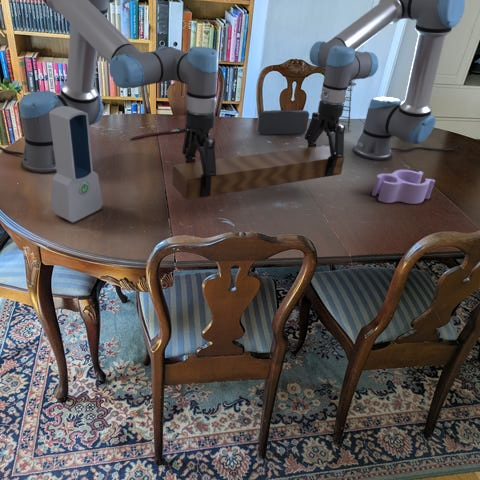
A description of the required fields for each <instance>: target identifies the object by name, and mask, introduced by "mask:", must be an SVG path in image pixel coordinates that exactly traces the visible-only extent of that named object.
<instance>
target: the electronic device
mask: <svg viewBox="0 0 480 480" xmlns="http://www.w3.org/2000/svg"><path fill="white" fill-rule="evenodd" d="M49 117H50V124H51V132H52V140H53V147H54V155H55V162H56V170H57V171H56V172H55V174H54V175H53V177H52V180H51V209H52V212H53V214H55V215H57V216H58V217H60V218H62V219H64V220H66V221H68V222H69V223H72V224H73V223H75V222H77V221H79V220H81V219H84V218H85V217H88V216H89V215H92V214H93V213H96V212H98V211H100V210H101V209H102V207H103V204H104V202H103V196H102V191H101V186H100V181H99V180H100V178H99V174H98V172H96V171H94V169H93V168H94V166H93V157H92V145H91V132H90V126H89V120H88V113H86V112H83V111H80V110H77V109H74V108H71V107H67V106H60V107H57V108H55V109H53V110H52V111H50V112H49Z"/></svg>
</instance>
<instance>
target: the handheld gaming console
mask: <svg viewBox="0 0 480 480" xmlns="http://www.w3.org/2000/svg"><path fill="white" fill-rule="evenodd" d="M258 114H259V115H258V123H257V132H258V133H259V135H265V136H266V135H293V134H294V135H297V134H298V135H300V134H306V132H307V130H308V123H309V118H310V113H309V111H308V110H303V109H301V110H299V109H284V110H283V109H281V110H273V109H272V110H271V109H270V110H262V111H260V112H259V113H258Z"/></svg>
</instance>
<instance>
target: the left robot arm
mask: <svg viewBox="0 0 480 480" xmlns="http://www.w3.org/2000/svg"><path fill="white" fill-rule="evenodd" d="M42 1H43V2H44V4H45V5H46V6H47V7H48V8H49V9H50V10H51V11H52V12H54V13H55V14H60V15H61V16H62V17H63V18H64V19H65V20H66V21H67V22H68V23H69V24H70V26H69V39H68V40H69V41H68V54H67V55H68V57H67V69H66V70H67V71H66V81H64V82H62V84H61V87H60V94H56V92H54V91H51V90H42V91H41V90H37V91H32V92H30V93H26V94H24V96H22V97H21V98H20V100H19V103H18V104H19V116H20V120H21V126H22V132H23V137H24V148H23V152H21V151H13V150H8V149H6V148H3V147H2V146H0V150H1V151H2V152H4V153H6V154H11V155H17V156H22V158H21V159H22V160H21V161H22V166H23V168H24V169H25V170H27V171H29V172H33V173H39V174H46V173H57V170H56V162H55V155H54V147H53V140H52V132H51V124H50V117H49V112H50V111H52V110H53V109H55V108H57V107H60V106H67V107H71V108H74V109H77V110H80V111H83V112H86V113H88V120H89V127H91V126H92V125H95V124H98V123H99V122H100V121H101V119H102V117H103V114H104V103H103V99H102V96H101V95H100V93H99V91H98V89H97V88H96V87H95V80H96V72H97V64H98V63H97V62H98V55H100V56H101V57H102V58H103V59H104V60H105V61H106V62H107V63H108V64H109V65H108V66H109V67H108V70H109V76H110V77H111V78H112V82H113V83H114V84H115V86H117V87H118V88H121V89H135V88H139V87H145V86H148V85H149V86H150V85H154V84H161V83H165V82H166V83H167V82H172V81H174V82H179V83H182V84H185V85H186V102H185V103H186V104H185V105H186V106H185V109H186V110H187V111H186V114H185V115H186V116H185V118H186V119H185V128H186V130H185V133H184V137H183V138H184V139H183V145H182V149H181V150H182V151H181V152H182V154H183V155H184V158H185V163H191V162H197V161H196V160H197V159H196V157H197V154H196V153H197V152H198V153H199V158H200V161H201V164H202V170H203V174H202V175H201V194H200V196H201V197H202V198H207V197H206V196H208V197H211V196H210V192H211V177H212V176H216V162H215V159H216V149H215V147H216V139H215V138H211V136H210V130H212V129H213V128H214V127H215V124H216V123H215V121H216V113H215V111H216V105H217V104H216V103H217V100H218V99H217V85H218V76H219V53H218V51H217V50H216V49H215V48H212V47H207V46H191V47H190V48H188V51H184V50H181V49H178V48H176V47H173V46H166V45H161V46H158V47H156V49H154V51H153V50H152V51H144V52H142V51H140V50H139V49H138V48H137V47H136V46H135V45H134V44H133V43H132V42H131V41H130V40H129V39H128V38H127V37H126V35H124V34H123V33H122V32H121V31H120V30H119V29H118V28H117V27H116V26H115V25H114V24H113V23H112V22H111V21H110V20H109V19H108V18H107V17H106V15H107V14H108V12H109V4H112V3H114V2H115V1H116V0H42Z"/></svg>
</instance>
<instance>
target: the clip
mask: <svg viewBox="0 0 480 480" xmlns="http://www.w3.org/2000/svg"><path fill="white" fill-rule="evenodd" d="M423 175H424V171H420V170H419V171H414V170H412V169H411V170H410V169H397V170H394V171H393V172H392V173H379V174H377V175H376V179H375V182H374V186H373V189H372V193H371V196H373V197H376V196H377V195H378V198H377V201H379V202H381V203H387V204H392V203H395V202H402V203H404V204H405V203H406V204H413V205H416V204H421V203H423V202H424V201H425V200H429V199H430V197H431V194H432V191H433V188H434V185H435V182H436V180H435V179H433V178H425V179H424V182H422V183H421V181H422V177H423Z"/></svg>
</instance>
